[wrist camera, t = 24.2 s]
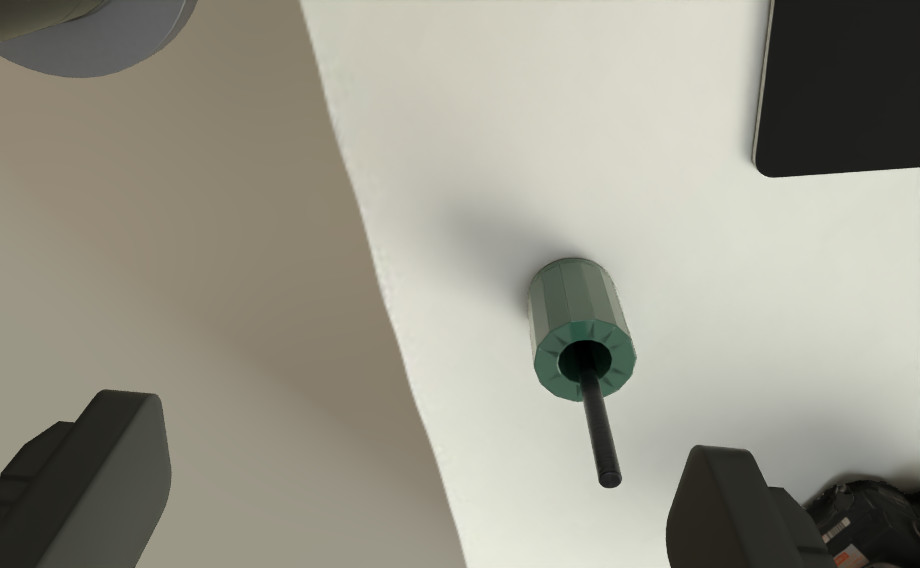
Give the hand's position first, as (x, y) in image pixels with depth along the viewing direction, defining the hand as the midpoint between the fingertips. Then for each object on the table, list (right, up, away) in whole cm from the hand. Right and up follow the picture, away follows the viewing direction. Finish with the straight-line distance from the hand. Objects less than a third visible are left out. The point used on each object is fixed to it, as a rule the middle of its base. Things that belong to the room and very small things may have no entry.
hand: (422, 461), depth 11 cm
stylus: (+7, +2, +33) cm, 34 cm away
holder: (+7, +2, +33) cm, 34 cm away
